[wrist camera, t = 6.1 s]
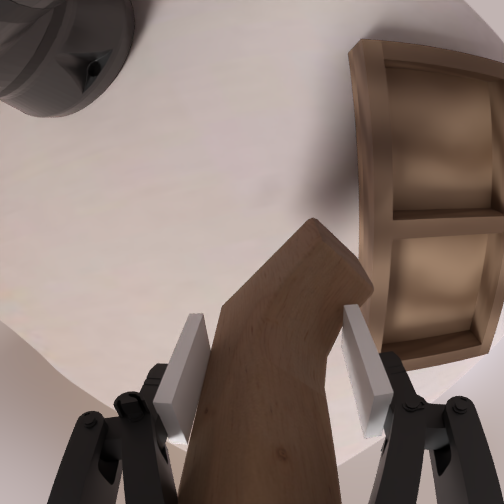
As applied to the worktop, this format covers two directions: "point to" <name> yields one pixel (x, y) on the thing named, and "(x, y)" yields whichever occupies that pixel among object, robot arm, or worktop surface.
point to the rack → (430, 198)
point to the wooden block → (274, 380)
